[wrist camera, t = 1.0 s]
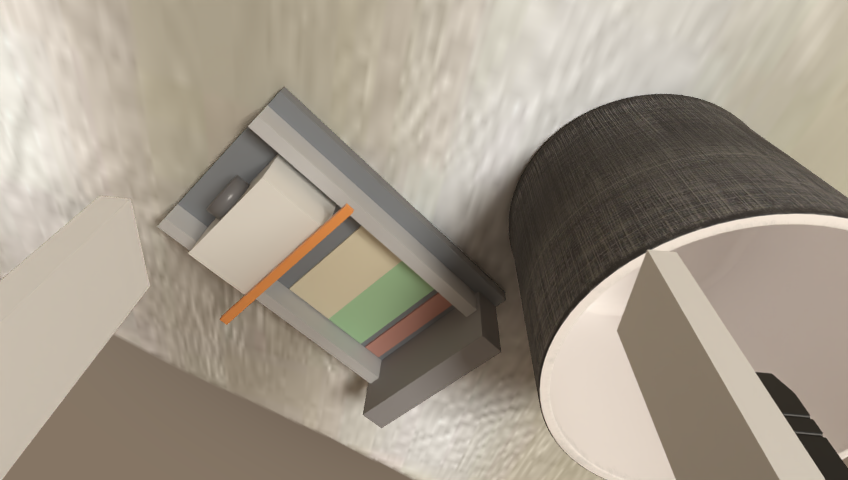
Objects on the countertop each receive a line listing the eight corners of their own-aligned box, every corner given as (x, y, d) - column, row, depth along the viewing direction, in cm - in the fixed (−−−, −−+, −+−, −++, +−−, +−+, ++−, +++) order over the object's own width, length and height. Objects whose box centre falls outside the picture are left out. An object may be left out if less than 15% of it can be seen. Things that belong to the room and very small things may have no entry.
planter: (663, 30, 32) (818, 118, 19) (818, 209, 38) (1022, 377, 24) (456, 222, 39) (461, 385, 26) (612, 348, 45) (682, 535, 32)
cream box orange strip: (179, 234, 39) (149, 270, 35) (292, 115, 34) (272, 142, 30) (247, 285, 41) (226, 324, 37) (363, 179, 36) (353, 212, 32)
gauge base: (166, 216, 40) (124, 261, 35) (284, 86, 35) (255, 117, 29) (380, 377, 48) (372, 433, 43) (504, 292, 42) (512, 344, 37)
